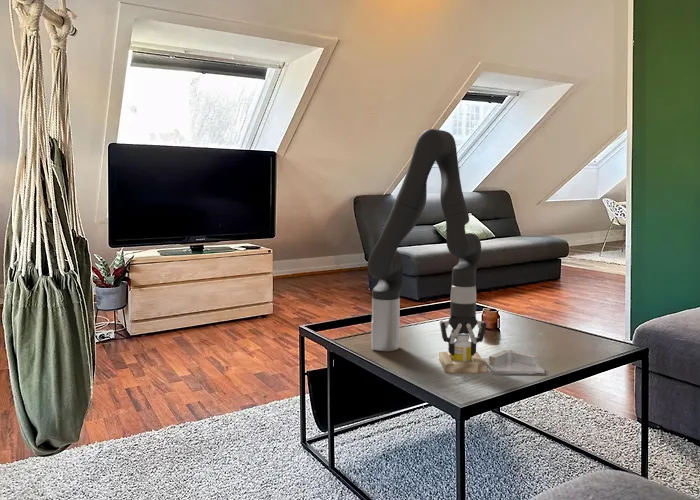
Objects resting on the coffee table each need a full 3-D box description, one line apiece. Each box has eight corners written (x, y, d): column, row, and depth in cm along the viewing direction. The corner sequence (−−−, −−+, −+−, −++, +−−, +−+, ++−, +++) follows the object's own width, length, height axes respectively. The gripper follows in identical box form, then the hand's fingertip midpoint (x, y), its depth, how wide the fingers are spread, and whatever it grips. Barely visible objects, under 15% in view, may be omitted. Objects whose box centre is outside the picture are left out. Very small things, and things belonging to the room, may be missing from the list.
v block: (492, 374, 164) (492, 362, 164) (482, 361, 177) (483, 350, 176) (544, 374, 164) (544, 362, 164) (530, 360, 177) (531, 350, 176)
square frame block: (445, 372, 166) (445, 364, 166) (438, 359, 178) (439, 352, 177) (486, 372, 166) (486, 364, 166) (477, 359, 178) (477, 352, 177)
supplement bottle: (468, 363, 175) (469, 332, 173) (472, 368, 169) (473, 337, 168) (451, 363, 174) (451, 332, 173) (454, 369, 169) (455, 337, 168)
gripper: (441, 302, 166) (440, 358, 168) (490, 302, 166) (488, 358, 168) (437, 297, 173) (436, 351, 175) (484, 297, 173) (482, 351, 175)
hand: (462, 354), depth 171 cm, fingers closed on supplement bottle, 5 cm apart
